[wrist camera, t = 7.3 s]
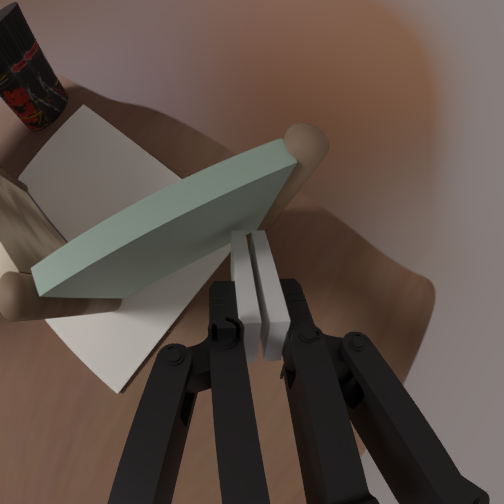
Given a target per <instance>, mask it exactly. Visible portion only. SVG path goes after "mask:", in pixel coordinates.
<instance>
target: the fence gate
mask: <svg viewBox="0 0 504 504" xmlns="http://www.w3.org/2000/svg"><path fill="white" fill-rule="evenodd" d="M328 150H329V142H328V139H327V137H326V135H325V134H324V133H323V132H322V131H321V130H320V129H319V128H318V127H316V126H314V125H311V124H309V123H296V124H294V125H292V126H290V127H289V128H288V130H287V131H286V134H285V136H284V139H282V138H280V139H277V140H274V141H271V142H269V143H266V144H263V145H261V146H258V147H256V148H253V149H251V150H248V151H246V152H243V153H241V154H238V155H236V156H233V157H231V158H229V159H226V160H224V161H222V162H219V163H217V164H215V165H212V166H210V167H208V168H206V169H203V170H201V171H199V172H197V173H195V174H193V175H190V176H188V177H186V178H184V179H182V180H180V181H178V182H176V183H174V184H172V185H170V186H168V187H166V188H164V189H162V190H160V191H158V192H156V193H154V194H152V195H150V196H148V197H146V198H144V199H142V200H140V201H138V202H136V203H135V204H133V205H131V206H129V207H127V208H125V209H124V210H122V211H120V212H118V213H117V214H115V215H113V216H111V217H109V218H108V219H106V220H104V221H103V222H101V223H99V224H98V225H96V226H94V227H93V228H91V229H89V230H88V231H86V232H84V233H83V234H81V235H79V236H78V237H76V238H75V239H73V240H72V241H70V242H68V243H67V244H65V245H64V246H62V247H61V248H59V249H58V250H56V251H55V252H53V253H52V254H50V255H49V256H47V257H46V258H44V259H43V260H42V261H40V262H39V263H37V264H36V265H34V266H33V267H32V268H31V271H32V275H33V278H34V281H35V285H36V288H37V291H38V294H39V297H65V298H127V297H128V296H130V295H132V294H134V293H136V292H138V291H140V290H142V289H143V288H145V287H147V286H149V285H151V284H153V283H155V282H157V281H159V280H160V279H162V278H164V277H166V276H168V275H170V274H172V273H174V272H176V271H178V270H179V269H181V268H183V267H185V266H187V265H189V264H191V263H193V262H195V261H197V260H199V259H201V258H203V257H205V256H206V255H208V254H210V253H212V252H214V251H216V250H218V249H220V248H222V247H224V246H226V245H228V244H230V243H231V231H243V230H245V233H246V235H248V234H250V233H251V230H257V229H258V230H267V229H269V228H270V227H271V226H272V225H273V223H274V222H275V221H276V219H277V218H278V217H279V215H280V214H281V213H282V212H283V210H284V209H285V208H286V206H287V205H288V204H289V202H290V201H291V200H292V198H293V197H294V196H295V195H296V193H297V192H298V191H299V189H300V188H301V186H302V185H303V184H304V183H305V181H306V180H307V179H308V178H309V176H310V175H311V174H312V172H313V171H314V170H315V169H316V167H317V166H318V164H319V163H320V162H321V161H322V159H323V158H324V157H325V156H326V154H327V152H328Z"/></svg>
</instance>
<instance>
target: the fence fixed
mask: <svg viewBox="0 0 504 504" xmlns="http://www.w3.org/2000/svg"><path fill="white" fill-rule="evenodd" d="M27 191H28V188H27V186H26V185H25V184H24V183H22V182H21V181H19V180H18V179H17V178H15V177H14V176H12V175H11V174H10V173H8V172H7V171H5V170H4V169H3V168H1V167H0V312H1V314H2V315H3V317H4V318H5V319H7V320H8V321H11V322H15V321H28V320H40V319H51V318H61V317H71V316H80V315H89V314H98V313H107V312H114V311H116V310H117V309H118V308H119V307H120V305H121V302H122V298H65V297H39V294H38V291H37V288H36V285H35V281H34V278H33V275H32V271H31V268H32V267H33V266H34V265H36V264H37V263H39V262H40V261H42V260H43V259H44V258H46V257H47V256H49V255H50V254H52V253H53V252H55V251H56V250H58V249H59V248H61V247H62V246H64V245H65V244H67V243H66V242H65V241H64V239H63V238H62V237H61V236H60V235H59V233H58V232H57V231H56V230H55V229H54V227H53V226H52V225H51V224H50V222H49V221H48V220H47V219H46V217H45V216H44V215H43V214H42V212H41V211H40V210H39V208H38V207H37V206H36V204H35V203H34V202H33V200H32V199H31V198H30V196H29V195H28V194H27Z"/></svg>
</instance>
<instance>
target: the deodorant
mask: <svg viewBox="0 0 504 504" xmlns="http://www.w3.org/2000/svg"><path fill="white" fill-rule="evenodd" d="M0 97H1V98H2V99H3V100H4V101H5V103H6V104H7V105H8V106H9V107H10V108H11V109H12V110H13V112H14V113H15V114H16V115H17V116H18V117H19V118H20V119H21V120H22V122H23V123H24V124H25V125H26V126H27V127H28V128H29V129H30V130H32V131H38V130H41V129H43V128H46V127H47V126H48V125H50V124H51V123H52V122H54V121H55V120H56V119H57V118H58V116H59V115H60V114H61V113H62V111H63V110H64V108H65V106H66V104H67V100H68V96H67V93H66V91H65V90H64V88H63V87H62V85H61V83H60V82H59V80H58V78H57V77H56V75H55V73H54V71H53V70H52V68H51V66H50V65H49V63H48V61H47V59H46V57H45V56H44V54H43V52H42V50H41V48H40V47H39V45H38V43H37V41H36V39H35V38H34V35H33V34H32V32H31V30H30V28H29V26H28V24H27V22H26V20H25V18H24V16H23V14H22V12H21V9H20V7H19V5H18V3H17V2H13V3H11V4H9V5H7V6H6V7H4V8H3V9H1V10H0Z"/></svg>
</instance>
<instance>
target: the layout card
mask: <svg viewBox="0 0 504 504" xmlns="http://www.w3.org/2000/svg"><path fill="white" fill-rule="evenodd" d="M18 180H19V181H21V182H22V183H24V184H25V185H26V186H27V188H28V191H27V194H28V195H29V196H30V198H31V199H32V200H33V202H34V203H35V204H36V206H37V207H38V208H39V210H40V211H41V212H42V214H43V215H44V216H45V217H46V219H47V220H48V221H49V222H50V224H51V225H52V226H53V227H54V229H55V230H56V231H57V232H58V233H59V235H60V236H61V237H62V238H63V239H64V241H65V242H66V243H68V242H70V241H72V240H73V239H75V238H76V237H78V236H79V235H81V234H83V233H84V232H86V231H88V230H89V229H91V228H93V227H94V226H96V225H98V224H99V223H101V222H103V221H104V220H106V219H108V218H109V217H111V216H113V215H115V214H117V213H118V212H120V211H122V210H124V209H125V208H127V207H129V206H131V205H133V204H135V203H136V202H138V201H140V200H142V199H144V198H146V197H148V196H150V195H152V194H154V193H156V192H158V191H160V190H162V189H164V188H166V187H168V186H170V185H172V184H174V183H176V182H178V181H180V180H182V179H181V178H180V177H179V176H177V175H176V174H175V173H173V172H172V171H171V170H170V169H168V168H167V167H166V166H164V165H163V164H162V163H160V162H159V161H158V160H157V159H155V158H154V157H153V156H151V155H150V154H149V153H147V152H146V151H145V150H144V149H142V148H141V147H140V146H138V145H137V144H136V143H134V142H133V141H132V140H131V139H129V138H128V137H127V136H125V135H124V134H123V133H121V132H120V131H119V130H117V129H116V128H115V127H113V126H112V125H111V124H109V123H108V122H107V121H105V120H104V119H103V118H101V117H100V116H99V115H98V114H96V113H95V112H94V111H92V110H91V109H90V108H88V107H87V106H85V105H84V104H83V105H82V106H81V107H80V108H79V109H78V110H77V111H76V112H75V113H74V114H73V115H72V116H71V117H70V118H69V119H68V120H67V121H66V122H65V123H64V124H63V125H62V126H61V127H60V128H59V129H58V130H57V131H56V133H55V134H54V135H53V136H52V137H51V138H50V139H49V140H48V141H47V143H46V144H45V145H44V146H43V147H42V148H41V150H40V151H39V152H38V153H37V154H36V156H35V157H34V158H33V159H32V161H31V162H30V163H29V164H28V166H27V167H26V168H25V170H24V171H23V172H22V174H21V175H20V176H19V178H18ZM230 252H231V243H230V244H228V245H226V246H224V247H222V248H220V249H218V250H216V251H214V252H212V253H210V254H208V255H206V256H205V257H203V258H201V259H199V260H197V261H195V262H193V263H191V264H189V265H187V266H185V267H183V268H181V269H179V270H178V271H176V272H174V273H172V274H170V275H168V276H166V277H164V278H162V279H160V280H159V281H157V282H155V283H153V284H151V285H149V286H147V287H145V288H143V289H142V290H140V291H138V292H136V293H134V294H132V295H130V296H128V297H127V298H122V302H121V305H120V307H119V308H118V309H117V310H116V311H114V312H107V313H98V314H89V315H80V316H71V317H61V318H51V319H45V320H46V322H47V323H48V324H49V325H50V326H51V328H52V329H53V330H54V331H55V332H56V333H57V335H58V336H59V337H60V338H61V339H62V340H63V341H64V342H65V344H66V345H67V346H68V347H69V348H70V349H71V350H72V351H73V352H74V353H75V354H76V355H77V356H78V357H79V358H80V359H81V360H82V361H83V362H84V363H85V364H86V365H87V366H88V367H89V368H90V369H91V370H92V371H93V372H94V373H95V374H96V375H97V376H98V377H99V378H100V379H101V380H102V381H104V382H105V383H106V384H107V385H108V386H109V387H110V388H111V389H113V390H114V391H115V392H116V393H117V394H118V393H119V392H120V391H121V389H122V388H123V387H124V385H125V384H126V383H127V381H128V380H129V379H130V378H131V376H132V375H133V374H134V372H135V371H136V370H137V368H138V367H139V366H140V365H141V363H142V362H143V361H144V359H145V358H146V357H147V356H148V354H149V353H150V352H151V351H152V349H153V348H154V347H155V345H156V344H157V343H158V342H159V340H160V339H161V338H162V337H163V335H164V334H165V333H166V331H167V330H168V329H169V328H170V326H171V325H172V324H173V323H174V321H175V320H176V319H177V318H178V316H179V315H180V314H181V313H182V311H183V310H184V309H185V308H186V306H187V305H188V304H189V303H190V301H191V300H192V299H193V298H194V296H195V295H196V294H197V293H198V291H199V290H200V289H201V288H202V286H203V285H204V284H205V283H206V281H207V280H208V279H209V278H210V277H211V275H212V274H213V273H214V272H215V270H216V269H217V268H218V267H219V265H220V264H221V263H222V262H223V261H224V259H225V258H226V257H227V256H228V254H229V253H230Z"/></svg>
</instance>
